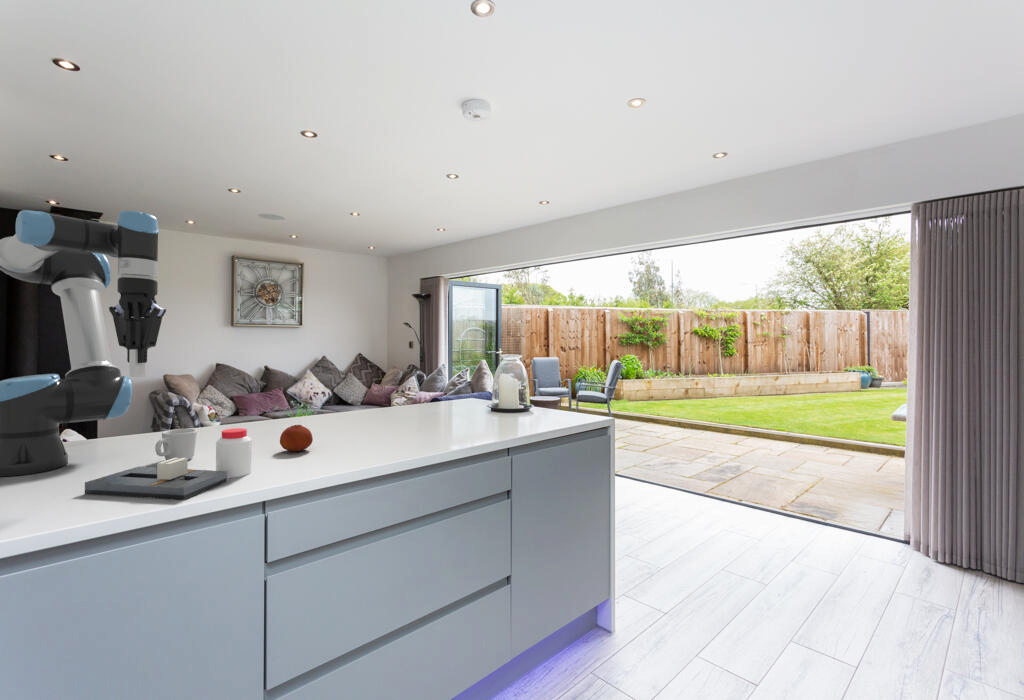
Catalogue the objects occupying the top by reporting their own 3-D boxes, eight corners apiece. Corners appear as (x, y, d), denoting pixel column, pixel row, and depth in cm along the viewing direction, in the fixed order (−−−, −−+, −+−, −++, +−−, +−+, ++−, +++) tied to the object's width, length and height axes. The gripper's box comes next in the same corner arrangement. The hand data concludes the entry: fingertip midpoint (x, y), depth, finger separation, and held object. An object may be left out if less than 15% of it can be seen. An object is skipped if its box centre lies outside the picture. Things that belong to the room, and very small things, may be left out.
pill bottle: (257, 469, 123) (257, 427, 123) (241, 478, 115) (241, 433, 115) (227, 469, 123) (227, 427, 123) (208, 477, 115) (209, 433, 115)
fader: (155, 485, 104) (155, 462, 104) (173, 478, 109) (173, 457, 109) (171, 486, 104) (171, 463, 104) (189, 479, 109) (189, 457, 109)
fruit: (273, 453, 141) (273, 426, 140) (293, 447, 149) (293, 421, 149) (298, 455, 138) (299, 428, 138) (318, 449, 147) (318, 423, 147)
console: (84, 494, 102) (84, 481, 102) (138, 476, 115) (138, 466, 115) (183, 500, 99) (184, 487, 99) (227, 481, 112) (227, 470, 112)
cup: (169, 467, 123) (169, 436, 123) (144, 465, 125) (144, 434, 125) (203, 457, 134) (204, 429, 134) (180, 455, 135) (180, 427, 135)
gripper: (98, 275, 110) (97, 376, 110) (149, 276, 109) (148, 378, 109) (127, 279, 117) (126, 374, 118) (175, 280, 116) (174, 376, 117)
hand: (137, 376), depth 114 cm, fingers closed
